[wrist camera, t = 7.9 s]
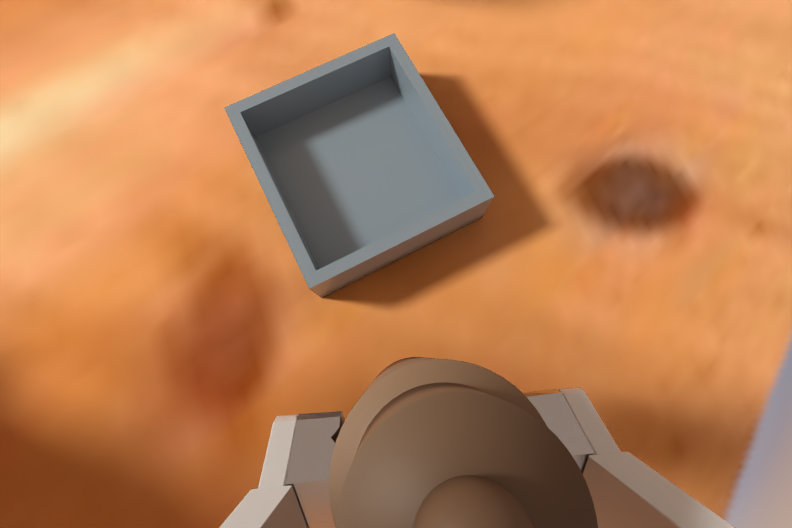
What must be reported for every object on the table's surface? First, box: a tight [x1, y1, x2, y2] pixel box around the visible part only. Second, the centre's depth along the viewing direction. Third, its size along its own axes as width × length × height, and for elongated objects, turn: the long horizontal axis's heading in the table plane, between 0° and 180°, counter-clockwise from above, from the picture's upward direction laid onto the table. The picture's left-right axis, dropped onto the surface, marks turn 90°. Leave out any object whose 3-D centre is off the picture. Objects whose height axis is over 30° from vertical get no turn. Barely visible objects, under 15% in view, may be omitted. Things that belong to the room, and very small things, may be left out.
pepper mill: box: [329, 357, 598, 528], centre depth 10 cm, size 4×4×12 cm
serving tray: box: [225, 33, 495, 298], centre depth 27 cm, size 14×13×4 cm
